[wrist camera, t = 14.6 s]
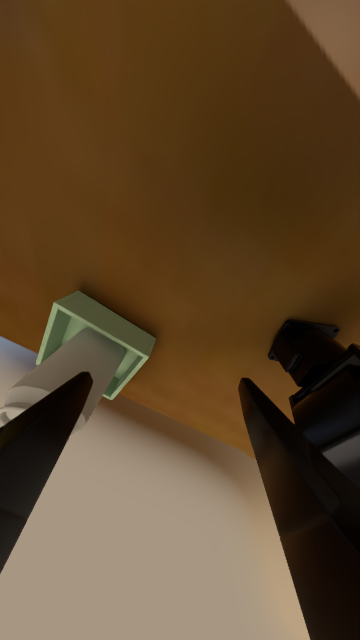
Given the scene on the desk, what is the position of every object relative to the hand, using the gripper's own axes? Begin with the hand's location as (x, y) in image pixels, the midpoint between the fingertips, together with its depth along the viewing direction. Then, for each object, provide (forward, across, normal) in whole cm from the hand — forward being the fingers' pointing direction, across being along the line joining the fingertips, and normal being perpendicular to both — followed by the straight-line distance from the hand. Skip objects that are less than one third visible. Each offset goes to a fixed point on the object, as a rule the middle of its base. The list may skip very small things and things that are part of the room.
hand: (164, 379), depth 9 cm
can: (+12, +11, +8) cm, 18 cm away
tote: (+12, +12, +8) cm, 19 cm away
